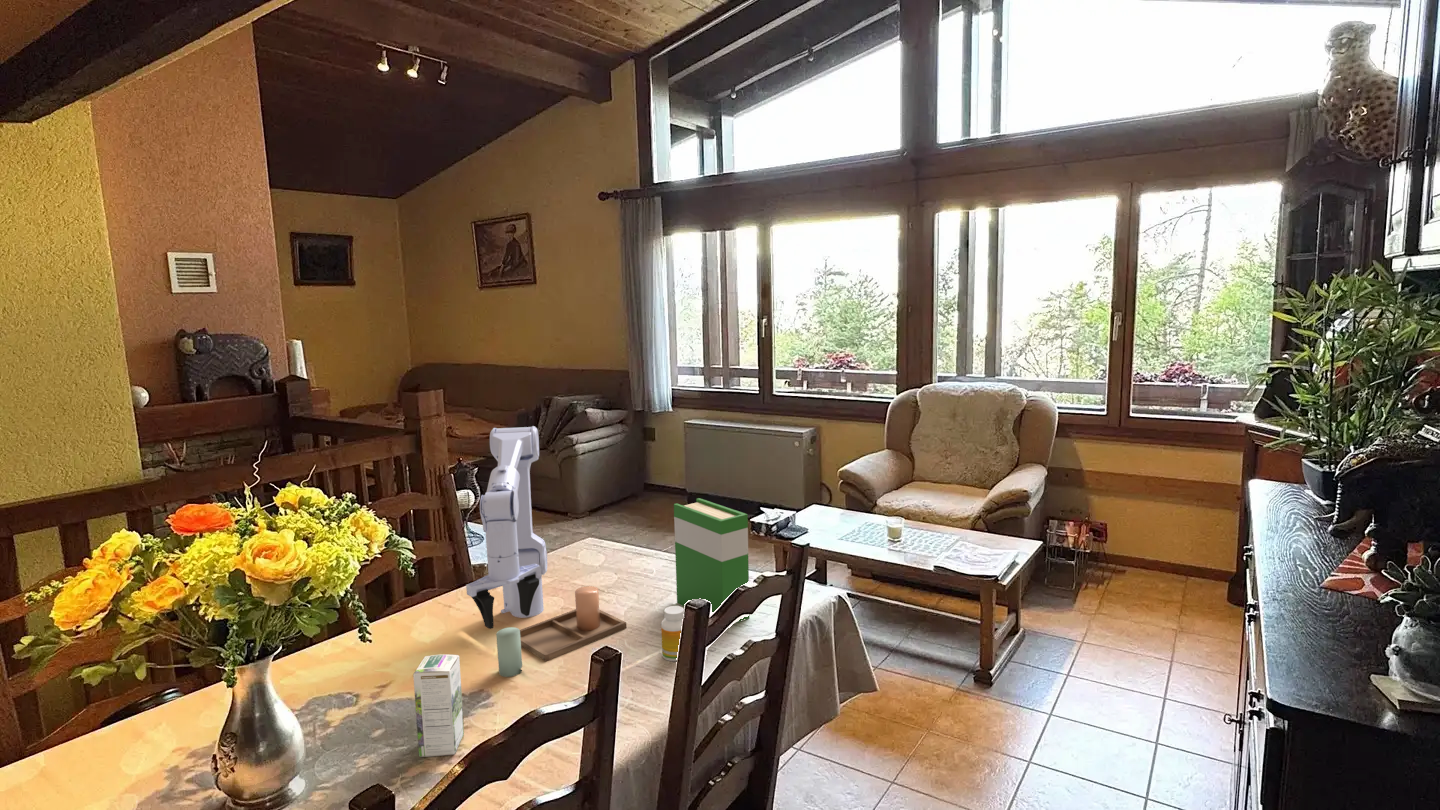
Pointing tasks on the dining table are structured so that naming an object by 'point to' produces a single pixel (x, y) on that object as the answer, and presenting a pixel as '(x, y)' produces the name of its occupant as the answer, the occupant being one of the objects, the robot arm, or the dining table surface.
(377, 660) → the dining table surface
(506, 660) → the sage tube
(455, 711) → the syrup box
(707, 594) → the hardback book
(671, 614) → the supplement bottle
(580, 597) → the peach cylinder pillar
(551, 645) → the walnut tray
